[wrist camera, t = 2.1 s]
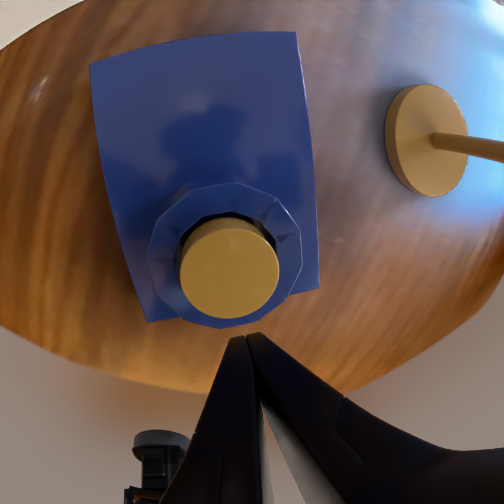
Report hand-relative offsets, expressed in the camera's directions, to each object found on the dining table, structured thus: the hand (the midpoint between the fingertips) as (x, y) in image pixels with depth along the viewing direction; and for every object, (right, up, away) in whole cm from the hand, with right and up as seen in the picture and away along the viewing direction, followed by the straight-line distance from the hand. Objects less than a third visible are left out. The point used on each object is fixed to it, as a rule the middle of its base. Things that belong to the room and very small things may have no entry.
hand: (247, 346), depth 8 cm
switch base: (-2, +7, +7) cm, 10 cm away
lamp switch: (-1, +2, +5) cm, 6 cm away
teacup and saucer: (-20, +24, -3) cm, 31 cm away
